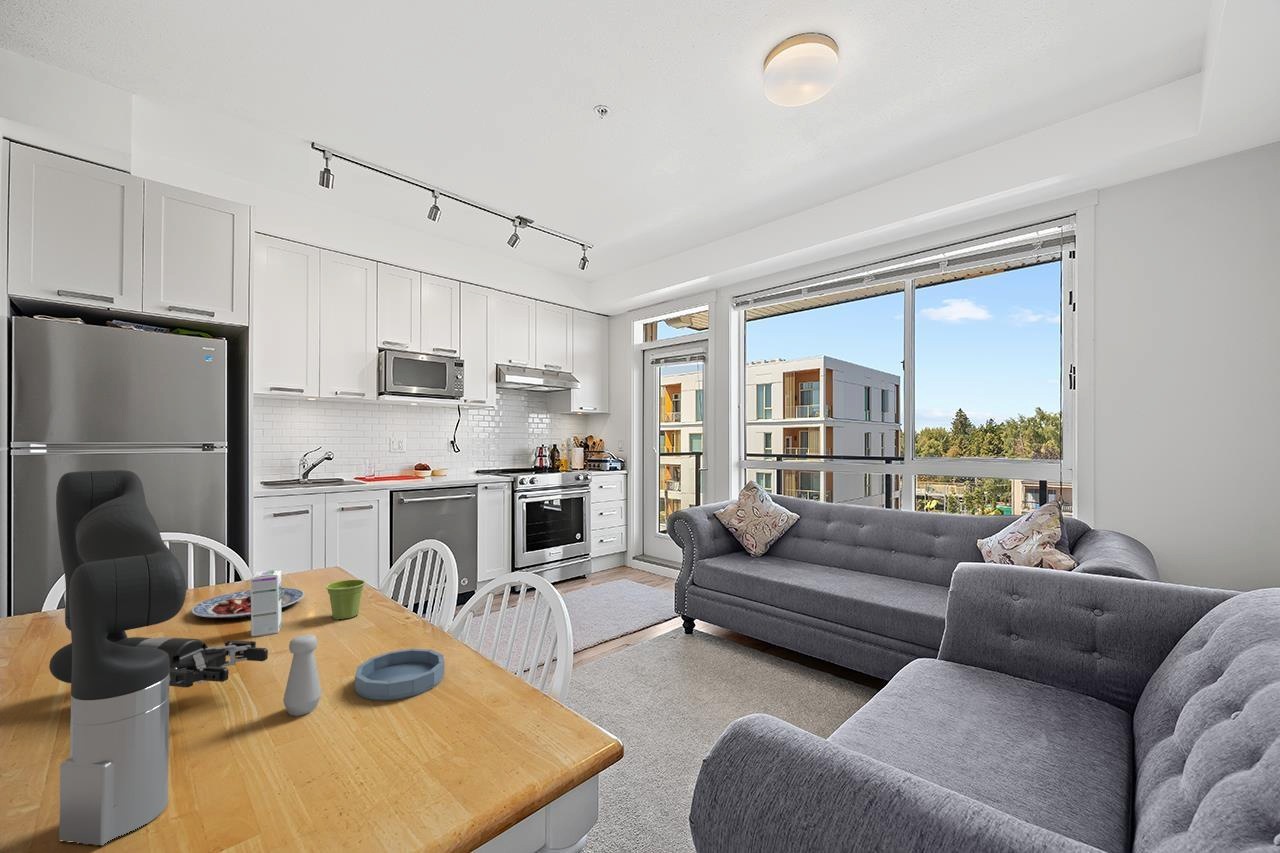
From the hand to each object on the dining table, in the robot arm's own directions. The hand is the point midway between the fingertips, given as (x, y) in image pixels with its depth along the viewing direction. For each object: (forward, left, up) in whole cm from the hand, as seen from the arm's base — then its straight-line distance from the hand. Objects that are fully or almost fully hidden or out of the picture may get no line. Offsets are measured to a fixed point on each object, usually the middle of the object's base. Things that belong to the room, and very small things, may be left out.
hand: (247, 664), depth 99 cm
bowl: (+13, -22, -7) cm, 27 cm away
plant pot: (+47, +14, -8) cm, 50 cm away
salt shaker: (0, -11, -8) cm, 13 cm away
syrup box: (+34, +26, -8) cm, 44 cm away
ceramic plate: (+50, +45, -8) cm, 68 cm away
